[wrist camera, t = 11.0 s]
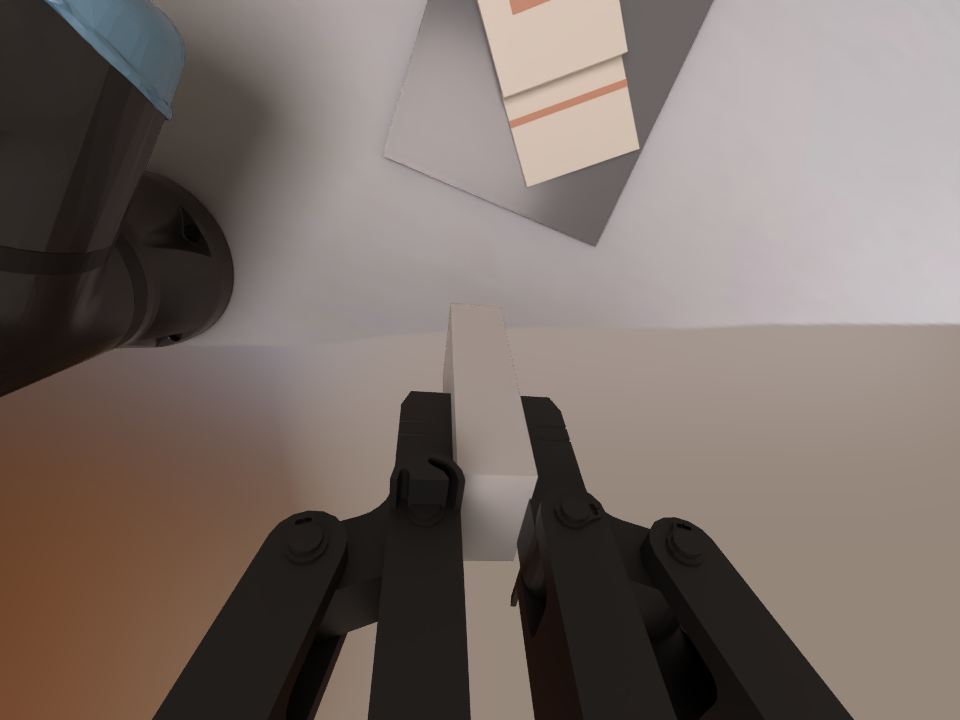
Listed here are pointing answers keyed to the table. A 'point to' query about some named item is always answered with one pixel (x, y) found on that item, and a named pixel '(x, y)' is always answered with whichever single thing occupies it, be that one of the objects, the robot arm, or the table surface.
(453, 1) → the slate board
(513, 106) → the base
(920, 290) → the table surface
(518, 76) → the cream flat block
